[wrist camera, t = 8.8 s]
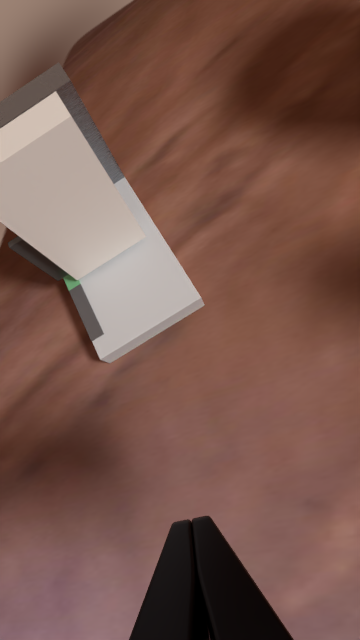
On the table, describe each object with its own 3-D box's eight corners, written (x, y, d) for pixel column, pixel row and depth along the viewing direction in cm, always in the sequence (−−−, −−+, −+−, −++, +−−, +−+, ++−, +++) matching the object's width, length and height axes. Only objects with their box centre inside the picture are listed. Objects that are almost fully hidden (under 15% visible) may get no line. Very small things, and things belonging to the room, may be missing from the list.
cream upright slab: (146, 236, 23) (70, 115, 14) (62, 289, 24) (-65, 206, 14) (123, 198, 25) (41, 66, 16) (44, 248, 25) (-81, 149, 16)
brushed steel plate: (124, 177, 26) (70, 80, 19) (42, 230, 26) (-43, 156, 19) (114, 161, 27) (58, 62, 19) (35, 213, 27) (-51, 136, 20)
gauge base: (204, 305, 23) (201, 297, 21) (109, 363, 23) (99, 359, 22) (122, 174, 28) (114, 160, 27) (45, 223, 29) (34, 213, 27)
